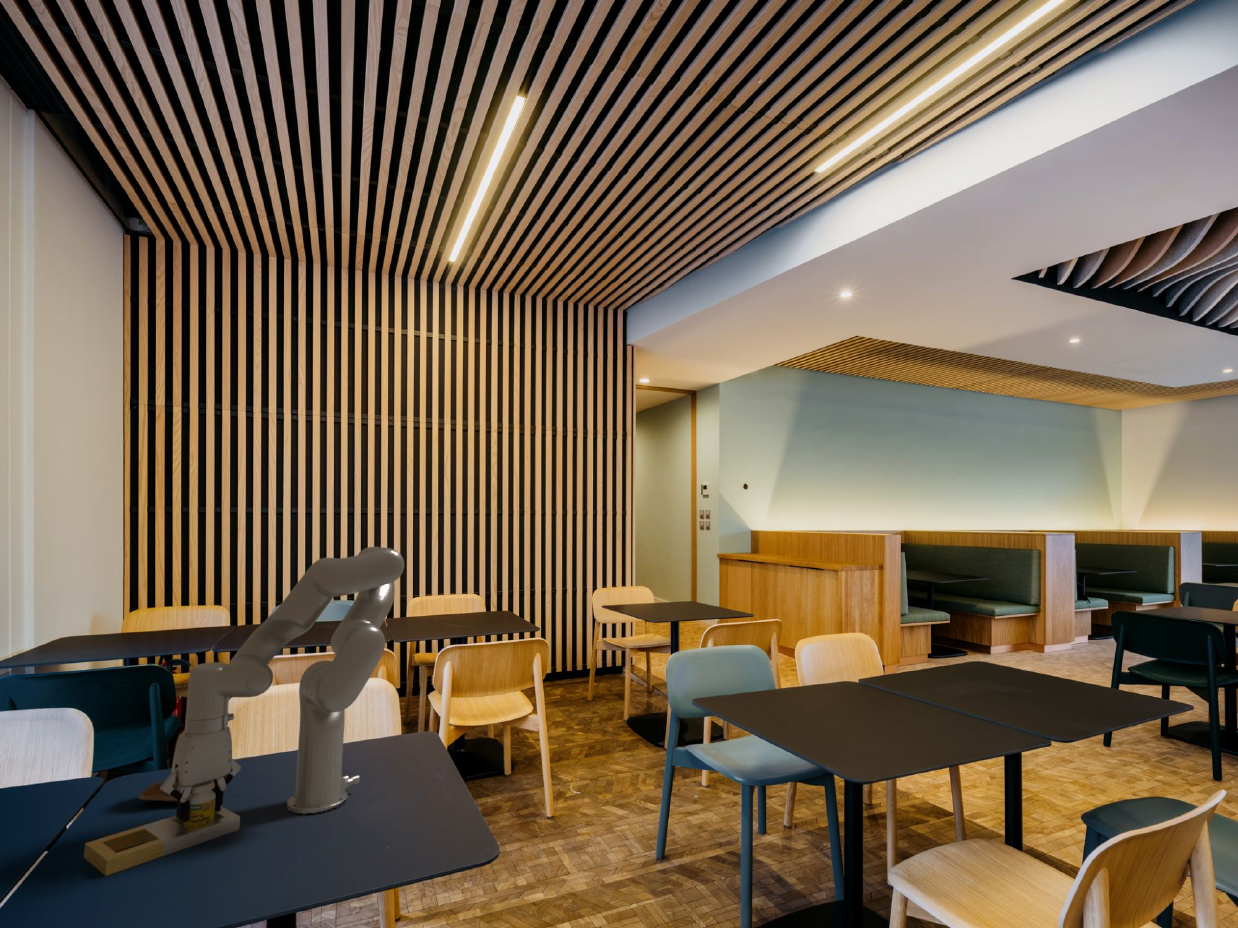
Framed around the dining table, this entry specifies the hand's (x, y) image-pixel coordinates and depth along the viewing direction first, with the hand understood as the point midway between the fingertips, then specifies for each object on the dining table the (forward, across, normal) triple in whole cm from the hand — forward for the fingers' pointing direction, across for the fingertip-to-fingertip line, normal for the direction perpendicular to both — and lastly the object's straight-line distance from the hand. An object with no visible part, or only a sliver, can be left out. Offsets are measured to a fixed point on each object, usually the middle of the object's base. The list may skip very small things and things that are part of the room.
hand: (199, 813), depth 136 cm
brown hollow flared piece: (+4, -6, -21) cm, 22 cm away
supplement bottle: (+4, 0, 0) cm, 4 cm away
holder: (+3, +6, 0) cm, 7 cm away
